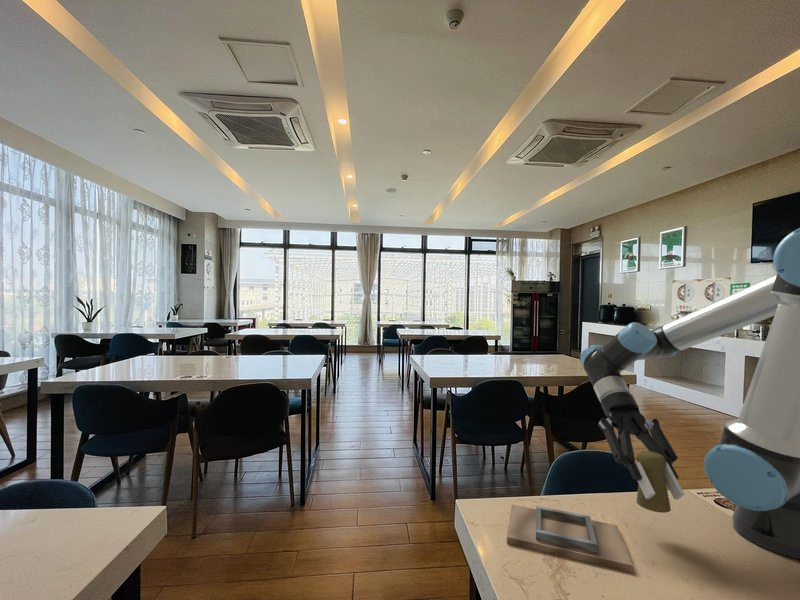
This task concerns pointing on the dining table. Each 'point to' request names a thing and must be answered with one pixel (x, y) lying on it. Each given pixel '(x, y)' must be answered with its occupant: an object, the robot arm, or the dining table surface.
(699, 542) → the dining table surface
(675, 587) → the dining table surface
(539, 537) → the condiment stand
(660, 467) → the olive pawn shaped shaker
